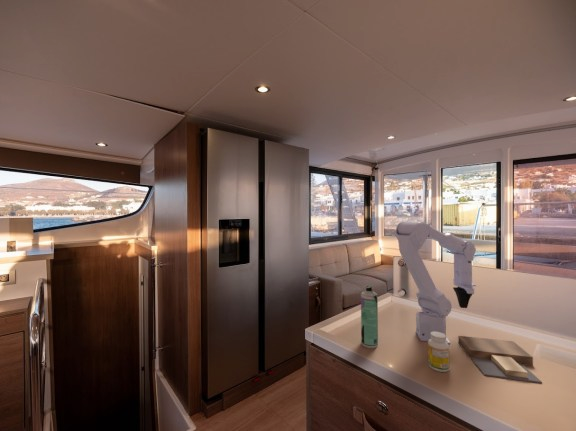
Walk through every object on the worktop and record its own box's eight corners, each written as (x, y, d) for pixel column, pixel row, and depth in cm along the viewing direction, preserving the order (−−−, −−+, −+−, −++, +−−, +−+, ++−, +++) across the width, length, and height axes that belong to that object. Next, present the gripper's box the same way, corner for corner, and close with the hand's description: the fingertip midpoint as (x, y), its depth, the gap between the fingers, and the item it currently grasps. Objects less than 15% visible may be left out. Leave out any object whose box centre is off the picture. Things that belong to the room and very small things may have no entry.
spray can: (378, 342, 90) (378, 285, 90) (377, 349, 85) (376, 289, 85) (362, 339, 92) (362, 283, 93) (360, 346, 87) (359, 287, 88)
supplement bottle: (447, 375, 71) (447, 340, 71) (426, 368, 75) (425, 335, 75) (450, 366, 75) (450, 333, 75) (430, 360, 79) (430, 328, 79)
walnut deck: (470, 357, 80) (470, 349, 80) (458, 342, 89) (458, 335, 89) (532, 365, 76) (532, 357, 76) (513, 348, 85) (513, 341, 85)
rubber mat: (484, 375, 71) (484, 374, 71) (470, 358, 80) (470, 357, 80) (541, 383, 67) (541, 381, 67) (521, 364, 76) (521, 363, 76)
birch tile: (505, 375, 70) (505, 369, 70) (491, 359, 78) (491, 354, 78) (527, 378, 69) (527, 372, 69) (510, 361, 77) (510, 356, 77)
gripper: (483, 276, 90) (484, 315, 90) (467, 268, 104) (467, 302, 104) (460, 275, 92) (461, 313, 92) (447, 267, 106) (447, 300, 106)
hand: (463, 307), depth 98 cm, fingers closed
